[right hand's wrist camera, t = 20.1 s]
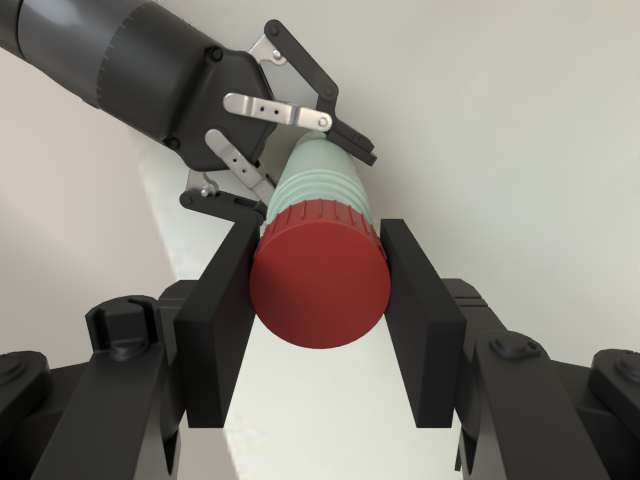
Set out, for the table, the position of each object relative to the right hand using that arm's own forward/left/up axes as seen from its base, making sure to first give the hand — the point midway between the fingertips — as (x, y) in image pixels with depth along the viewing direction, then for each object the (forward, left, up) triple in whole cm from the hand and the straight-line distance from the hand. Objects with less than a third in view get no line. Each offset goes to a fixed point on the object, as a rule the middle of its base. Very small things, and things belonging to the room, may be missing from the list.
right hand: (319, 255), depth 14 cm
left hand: (-1, -3, -15) cm, 15 cm away
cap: (0, 0, +2) cm, 2 cm away
